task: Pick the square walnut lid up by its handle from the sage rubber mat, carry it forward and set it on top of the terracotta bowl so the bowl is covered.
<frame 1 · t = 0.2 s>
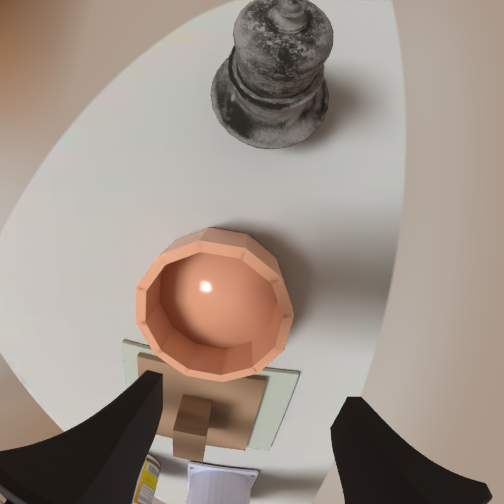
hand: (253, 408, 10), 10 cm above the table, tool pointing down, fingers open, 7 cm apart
supplement bottle: (140, 457, 25), on the table
walnut lid: (197, 407, 22), resting on sage rubber mat
terracotta bowl: (218, 295, 19), on the table
sage rubber mat: (203, 405, 22), on the table
salt shaker: (266, 108, 16), on the table
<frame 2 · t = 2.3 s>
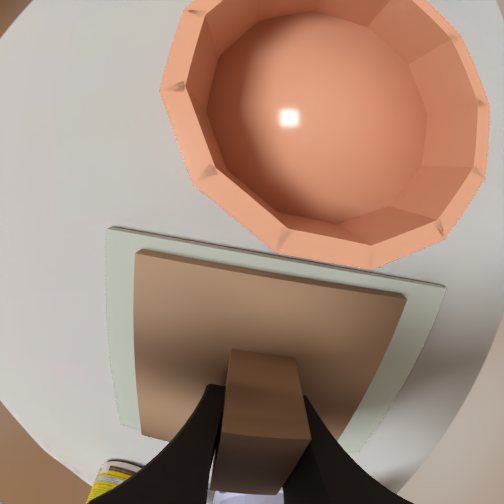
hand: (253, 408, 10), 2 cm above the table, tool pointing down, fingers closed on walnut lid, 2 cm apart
supplement bottle: (137, 475, 15), on the table
walnut lid: (253, 382, 11), resting on sage rubber mat, touching gripper
terracotta bowl: (325, 108, 9), on the table
sage rubber mat: (264, 377, 12), on the table
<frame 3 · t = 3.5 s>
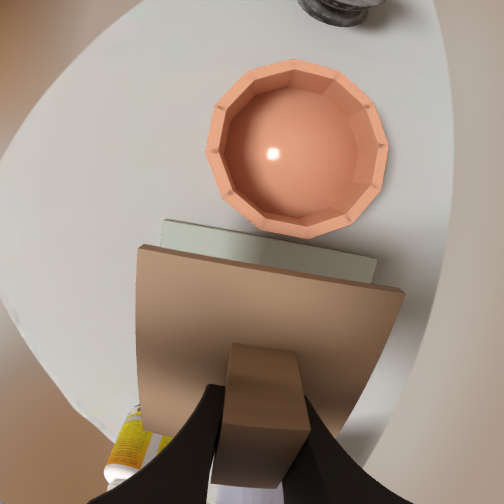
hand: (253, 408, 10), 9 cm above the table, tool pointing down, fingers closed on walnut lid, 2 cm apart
supplement bottle: (157, 420, 22), on the table
walnut lid: (254, 376, 11), point 8 cm above the table, touching gripper
terracotta bowl: (292, 151, 16), on the table
sage rubber mat: (258, 317, 19), on the table
salt shaker: (332, 1, 13), on the table
when the fingers open (6 cm above the table, at t = 4.9 s): walnut lid stays where it is, resting on terracotta bowl.
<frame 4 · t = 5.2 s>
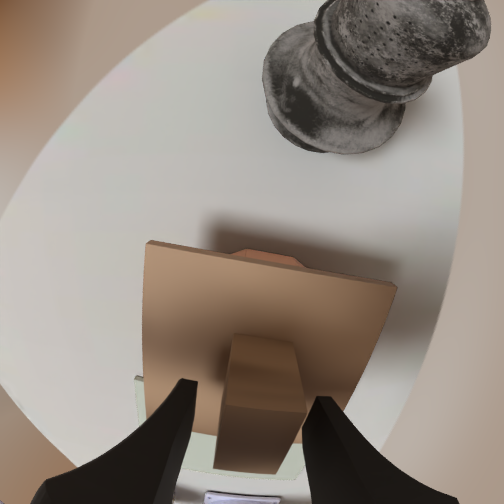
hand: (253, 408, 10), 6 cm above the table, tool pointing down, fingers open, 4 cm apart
walnut lid: (254, 366, 12), point 3 cm above the table, touching terracotta bowl
terracotta bowl: (253, 329, 16), on the table
sage rubber mat: (227, 442, 18), on the table
salt shaker: (318, 103, 13), on the table
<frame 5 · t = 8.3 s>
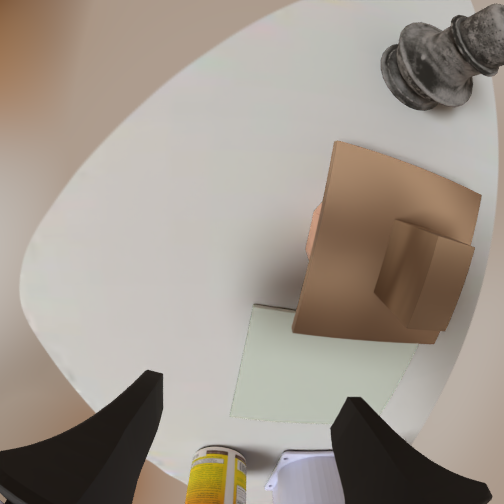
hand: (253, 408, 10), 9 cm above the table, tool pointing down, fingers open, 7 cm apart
supplement bottle: (220, 456, 24), on the table
walnut lid: (397, 257, 14), point 3 cm above the table, touching terracotta bowl
terracotta bowl: (373, 243, 18), on the table
sage rubber mat: (327, 376, 20), on the table
salt shaker: (411, 76, 15), on the table
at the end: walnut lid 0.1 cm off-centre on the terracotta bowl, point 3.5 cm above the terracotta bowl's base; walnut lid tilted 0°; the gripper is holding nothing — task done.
